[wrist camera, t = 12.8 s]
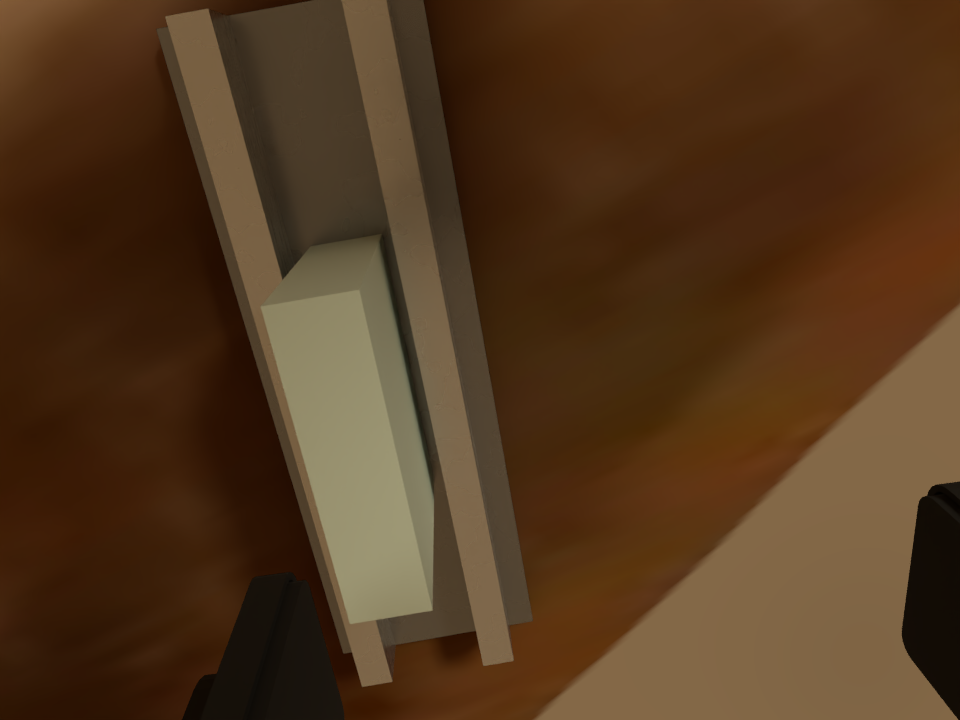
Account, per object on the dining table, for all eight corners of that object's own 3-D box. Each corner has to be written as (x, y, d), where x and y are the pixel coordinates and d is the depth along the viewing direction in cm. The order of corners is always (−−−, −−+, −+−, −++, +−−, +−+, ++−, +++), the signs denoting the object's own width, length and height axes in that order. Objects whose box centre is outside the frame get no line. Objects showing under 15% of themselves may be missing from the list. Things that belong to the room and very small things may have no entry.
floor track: (165, 31, 28) (129, 22, 24) (420, -16, 28) (418, -30, 24) (345, 639, 38) (337, 691, 35) (530, 608, 38) (539, 656, 35)
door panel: (310, 246, 30) (260, 306, 22) (381, 233, 30) (359, 289, 22) (372, 492, 34) (349, 624, 26) (434, 482, 34) (432, 610, 26)
